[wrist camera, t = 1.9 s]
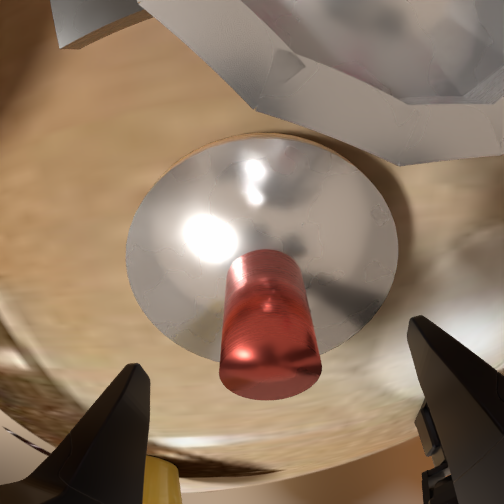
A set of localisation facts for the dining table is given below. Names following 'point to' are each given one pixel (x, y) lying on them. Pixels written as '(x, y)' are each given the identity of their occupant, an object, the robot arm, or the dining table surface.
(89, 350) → the dining table surface
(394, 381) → the dining table surface
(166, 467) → the plant pot
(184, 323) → the lid
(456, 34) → the pot
